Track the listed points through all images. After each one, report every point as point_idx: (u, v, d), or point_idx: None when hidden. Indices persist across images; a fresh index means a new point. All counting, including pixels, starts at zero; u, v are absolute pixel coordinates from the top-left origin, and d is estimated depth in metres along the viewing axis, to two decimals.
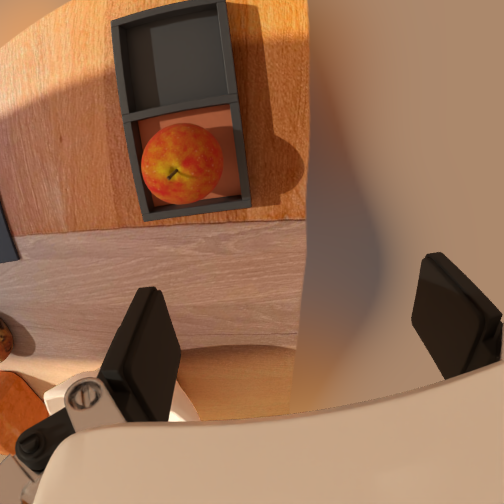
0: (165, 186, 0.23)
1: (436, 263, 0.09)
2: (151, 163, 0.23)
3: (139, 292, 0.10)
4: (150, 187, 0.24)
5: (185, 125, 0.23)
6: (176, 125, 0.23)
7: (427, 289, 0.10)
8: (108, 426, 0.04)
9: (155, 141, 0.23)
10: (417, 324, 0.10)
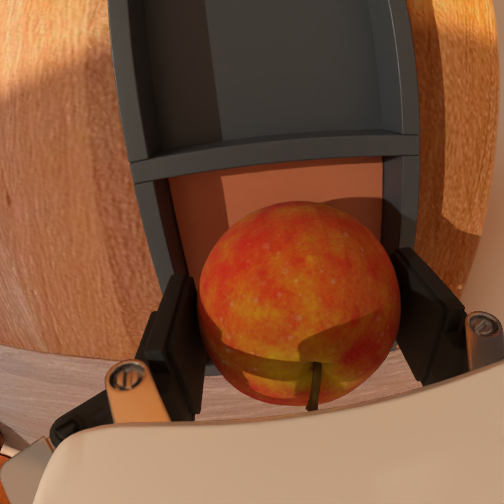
0: (283, 399, 0.08)
1: (404, 257, 0.10)
2: (244, 350, 0.08)
3: (172, 278, 0.10)
4: (233, 384, 0.09)
5: (332, 224, 0.09)
6: (306, 222, 0.09)
7: None
8: (108, 426, 0.04)
9: (252, 280, 0.08)
10: None
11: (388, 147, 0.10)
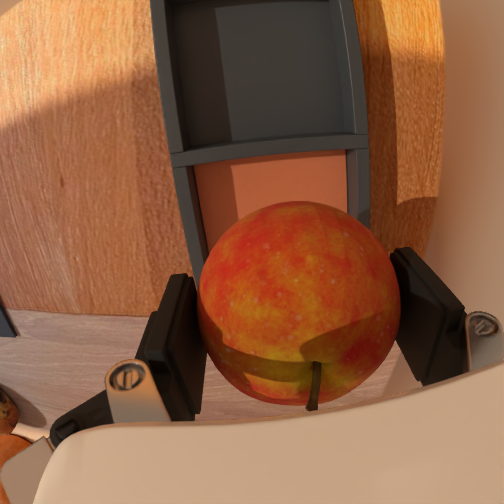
0: (283, 399, 0.08)
1: (404, 257, 0.10)
2: (244, 350, 0.08)
3: (172, 278, 0.10)
4: (233, 384, 0.09)
5: (332, 224, 0.09)
6: (306, 222, 0.09)
7: None
8: (108, 426, 0.04)
9: (252, 280, 0.08)
10: None
11: (345, 143, 0.15)
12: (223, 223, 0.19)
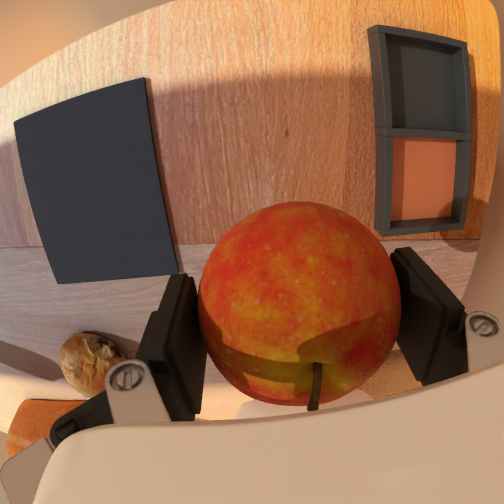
0: (284, 400, 0.08)
1: (404, 257, 0.10)
2: (245, 350, 0.08)
3: (172, 278, 0.10)
4: (233, 385, 0.09)
5: (333, 225, 0.09)
6: (307, 223, 0.09)
7: None
8: (108, 426, 0.04)
9: (254, 281, 0.08)
10: None
11: (462, 136, 0.25)
12: (396, 175, 0.28)
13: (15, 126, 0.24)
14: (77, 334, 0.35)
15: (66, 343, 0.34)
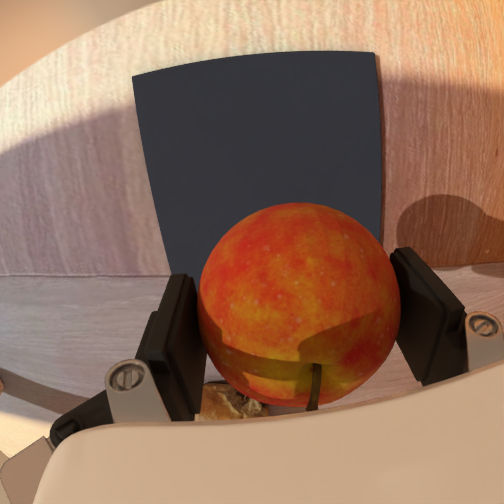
0: (283, 400, 0.08)
1: (404, 257, 0.10)
2: (244, 351, 0.08)
3: (172, 278, 0.10)
4: (233, 386, 0.09)
5: (333, 226, 0.09)
6: (306, 224, 0.09)
7: None
8: (108, 426, 0.04)
9: (253, 282, 0.08)
10: None
11: None
12: None
13: (135, 84, 0.17)
14: (206, 387, 0.28)
15: None
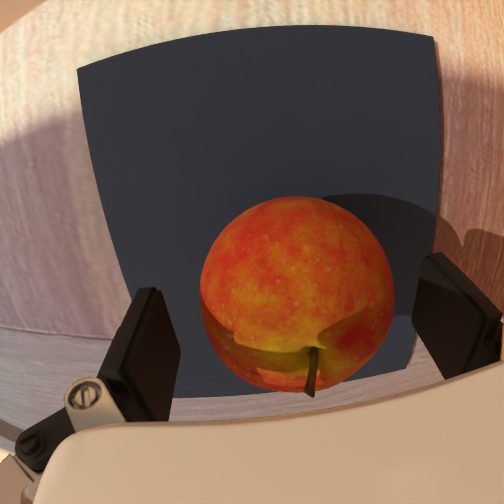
0: (282, 384, 0.09)
1: (437, 263, 0.09)
2: (245, 335, 0.08)
3: (139, 292, 0.10)
4: (234, 371, 0.10)
5: (328, 217, 0.09)
6: (303, 215, 0.09)
7: (427, 289, 0.10)
8: (108, 426, 0.04)
9: (253, 269, 0.08)
10: (417, 323, 0.10)
11: None
12: None
13: (81, 79, 0.11)
14: None
15: None
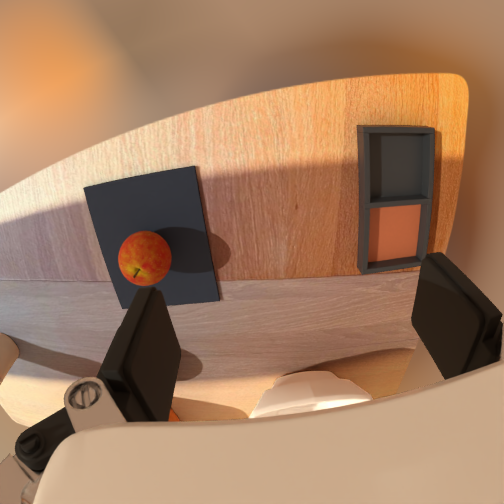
0: (133, 278, 0.37)
1: (436, 263, 0.09)
2: (123, 264, 0.36)
3: (139, 292, 0.10)
4: (125, 276, 0.38)
5: (143, 237, 0.37)
6: (137, 237, 0.37)
7: (427, 289, 0.10)
8: (108, 426, 0.04)
9: (125, 249, 0.36)
10: (417, 323, 0.10)
11: (424, 202, 0.38)
12: (373, 231, 0.42)
13: (85, 191, 0.38)
14: None
15: None
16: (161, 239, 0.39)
